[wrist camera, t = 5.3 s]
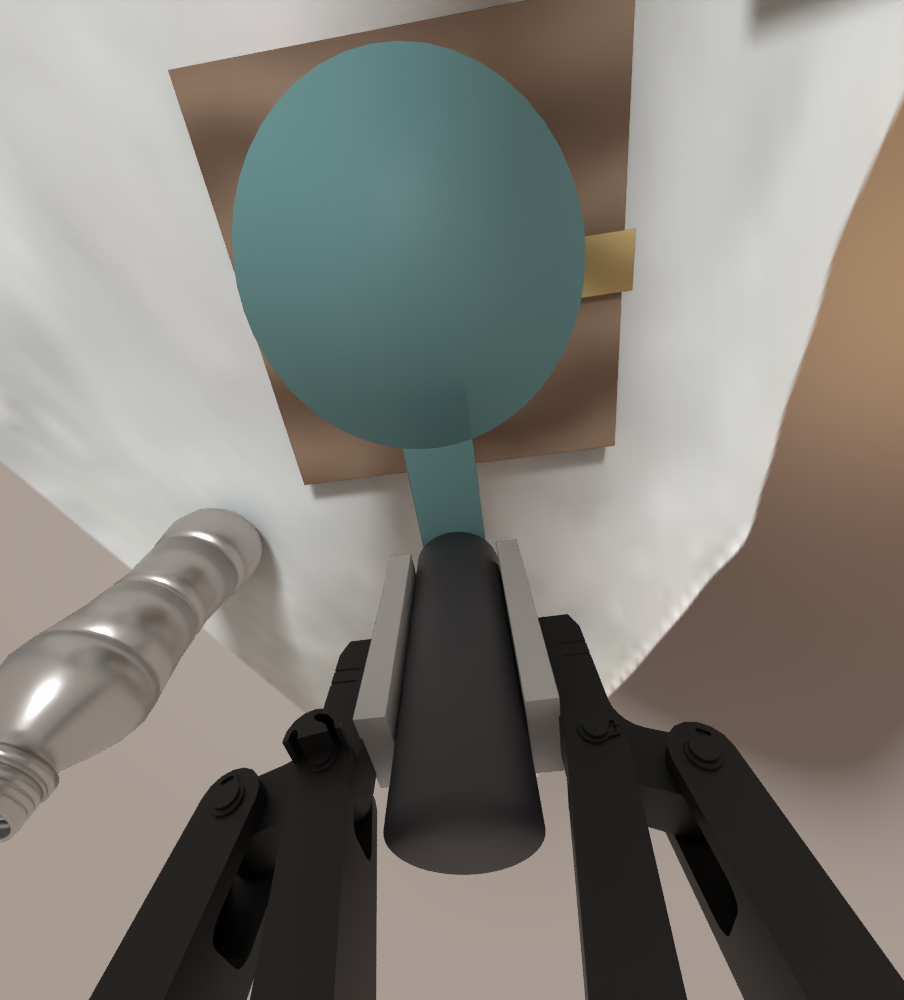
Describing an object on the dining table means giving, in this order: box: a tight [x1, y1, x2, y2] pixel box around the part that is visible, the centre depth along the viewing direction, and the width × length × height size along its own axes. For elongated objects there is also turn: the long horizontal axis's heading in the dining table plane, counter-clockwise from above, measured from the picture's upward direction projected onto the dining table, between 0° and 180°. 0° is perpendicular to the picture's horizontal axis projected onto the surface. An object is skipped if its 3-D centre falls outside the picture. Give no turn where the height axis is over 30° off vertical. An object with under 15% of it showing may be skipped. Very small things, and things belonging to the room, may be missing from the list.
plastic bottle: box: [0, 508, 263, 843], centre depth 24 cm, size 6×7×20 cm
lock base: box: [168, 0, 636, 485], centre depth 20 cm, size 22×22×12 cm
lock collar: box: [232, 41, 586, 875], centre depth 10 cm, size 17×10×12 cm, turn 8°
